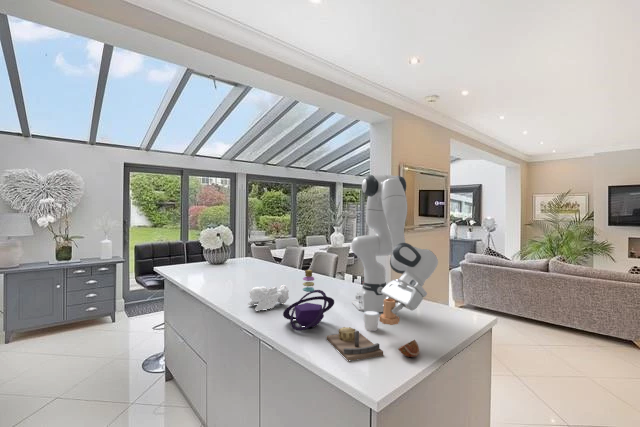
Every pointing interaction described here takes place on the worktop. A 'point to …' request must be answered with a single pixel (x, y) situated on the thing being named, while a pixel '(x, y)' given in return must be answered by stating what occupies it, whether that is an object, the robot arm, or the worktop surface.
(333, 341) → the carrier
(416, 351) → the fruit slice
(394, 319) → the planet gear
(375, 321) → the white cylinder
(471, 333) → the worktop surface
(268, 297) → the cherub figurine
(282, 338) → the worktop surface
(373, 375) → the worktop surface
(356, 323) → the worktop surface
